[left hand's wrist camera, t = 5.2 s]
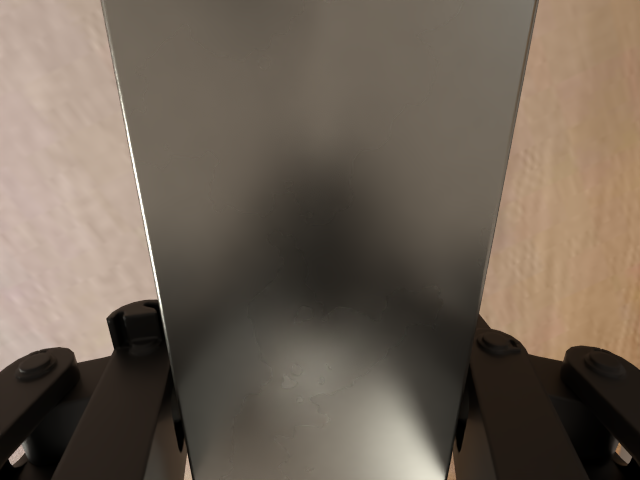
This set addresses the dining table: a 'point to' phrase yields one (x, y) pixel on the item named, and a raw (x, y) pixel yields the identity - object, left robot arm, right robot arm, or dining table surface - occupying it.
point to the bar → (319, 218)
